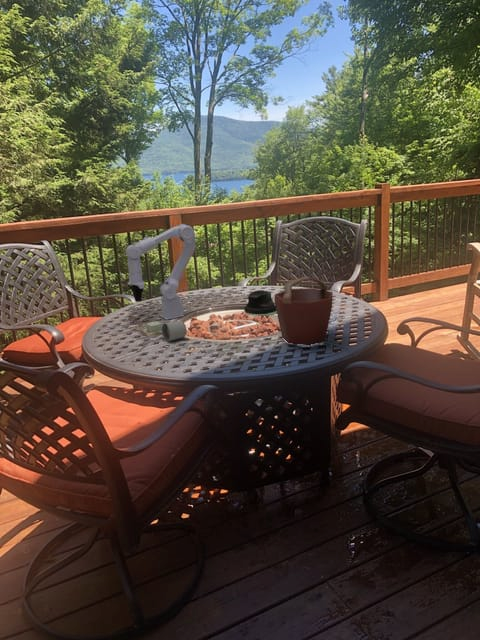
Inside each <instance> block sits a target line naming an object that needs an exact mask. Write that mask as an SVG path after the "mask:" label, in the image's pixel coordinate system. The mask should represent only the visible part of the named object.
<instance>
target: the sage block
mask: <svg viewBox="0 0 480 640" xmlns="http://www.w3.org/2000/svg"><path fill="white" fill-rule="evenodd" d="M145 324H146V332H147V333H153V332H158V331H162V325H163V323H161V322H159V321H152V322H148V323H147V322H146V323H145Z"/></svg>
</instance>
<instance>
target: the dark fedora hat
mask: <svg viewBox="0 0 480 640" xmlns="http://www.w3.org/2000/svg"><path fill="white" fill-rule="evenodd" d="M247 300H248V301H247V304H246V305H245V306H244V313H247V315H249V316H255V317H257V316H258V317H259V316H260V317H261V316H271V315H275V314H276V315H277V311H276V306H275V301H273V298H272V292H271V291H268V290H258V289H257V290H254V291H251V293H249V294H248V297H247Z"/></svg>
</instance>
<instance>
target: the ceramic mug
mask: <svg viewBox="0 0 480 640" xmlns="http://www.w3.org/2000/svg"><path fill="white" fill-rule="evenodd" d="M161 335H162V337H163V339H164V341H165V342H167V341H168V342H172V341H177V340H180V339H183V338H185V337H186V335H187V326H186V323H184V322H183V321H181V320H177V321H169V322H168V321H167V322H164V323H162V334H161Z"/></svg>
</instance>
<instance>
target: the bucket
mask: <svg viewBox="0 0 480 640" xmlns="http://www.w3.org/2000/svg"><path fill="white" fill-rule="evenodd" d="M309 280H311V281H313V282H315V283H317V284H318V285H319V286H320V288H315V287H312V288H311V287H309V288H293V286H295V285H297V284H298V283H301V282H303V281H309ZM283 286H284V287H283V288H284V290H283V291H280V292H277V293H275V294H274V305H275V306H276V312H277V313H276V315H277V319H278V325H279V329H280V334H281V337H283V338H284V339H285V340H286V341H287V342H288V343H293V344H306V345H311V344H315V343H319V342H324V341H325V342H326V338H327V337H326V336H327V333H328V329H329V323H330V319H331V313H332V308H333V291H330V290H329V291H328V286H327V285H326V283H325V282H323V281H321V280H319V279H317V278H313V277H309V276H308V277H307V276H304V277H299V278H295V279H293V280H290V281H289V282H286V283H285V284H284V285H283Z"/></svg>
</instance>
